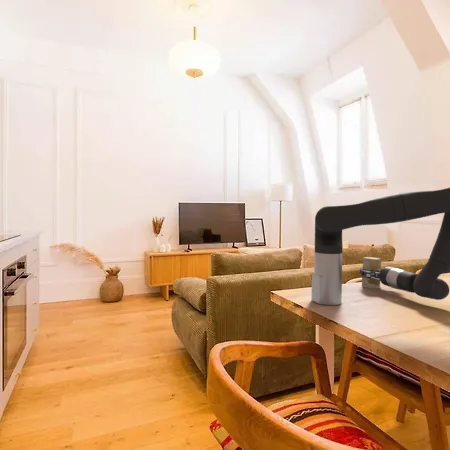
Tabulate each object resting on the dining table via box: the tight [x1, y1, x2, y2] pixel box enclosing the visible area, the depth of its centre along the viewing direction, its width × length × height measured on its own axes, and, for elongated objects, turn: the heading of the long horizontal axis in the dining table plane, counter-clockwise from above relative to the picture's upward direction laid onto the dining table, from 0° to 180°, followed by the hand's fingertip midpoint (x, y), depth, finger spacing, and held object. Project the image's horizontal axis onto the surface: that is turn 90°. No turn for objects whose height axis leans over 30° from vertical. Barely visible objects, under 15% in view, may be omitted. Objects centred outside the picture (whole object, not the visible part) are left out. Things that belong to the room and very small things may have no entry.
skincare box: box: [361, 256, 382, 289], centre depth 142 cm, size 6×4×12 cm
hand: (368, 270), depth 144 cm, fingers closed on skincare box, 6 cm apart
